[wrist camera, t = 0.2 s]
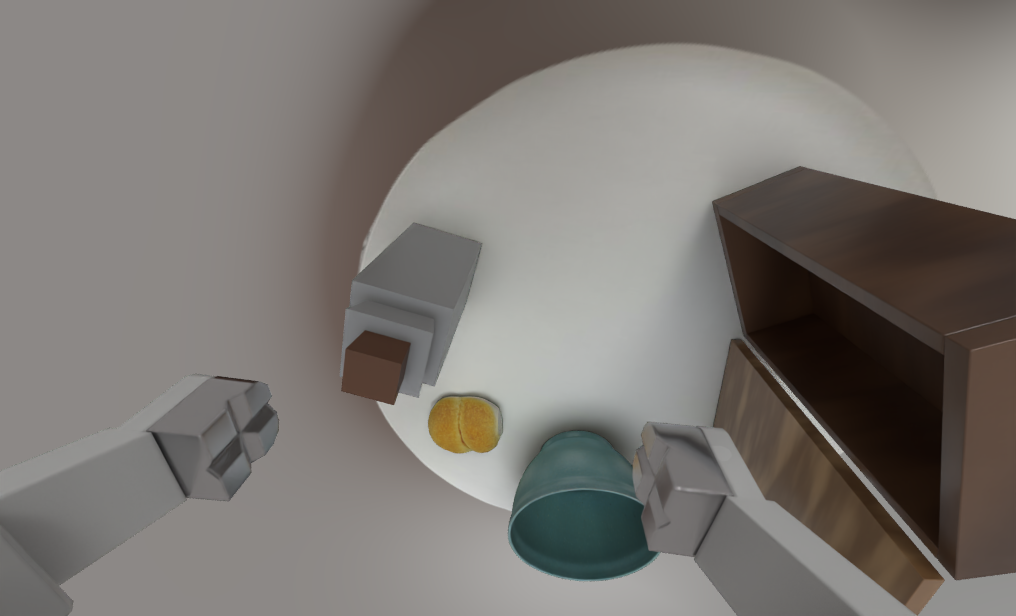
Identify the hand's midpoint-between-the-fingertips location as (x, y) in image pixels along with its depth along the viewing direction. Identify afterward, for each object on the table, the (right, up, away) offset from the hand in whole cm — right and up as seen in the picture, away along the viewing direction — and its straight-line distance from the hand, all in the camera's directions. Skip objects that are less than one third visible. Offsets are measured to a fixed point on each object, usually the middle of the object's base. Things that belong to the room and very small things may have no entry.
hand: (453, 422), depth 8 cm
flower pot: (+10, -16, +41) cm, 46 cm away
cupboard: (+25, +7, +27) cm, 38 cm away
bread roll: (-4, -11, +40) cm, 41 cm away
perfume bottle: (-5, +7, +30) cm, 31 cm away
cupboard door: (+28, -7, +34) cm, 45 cm away
